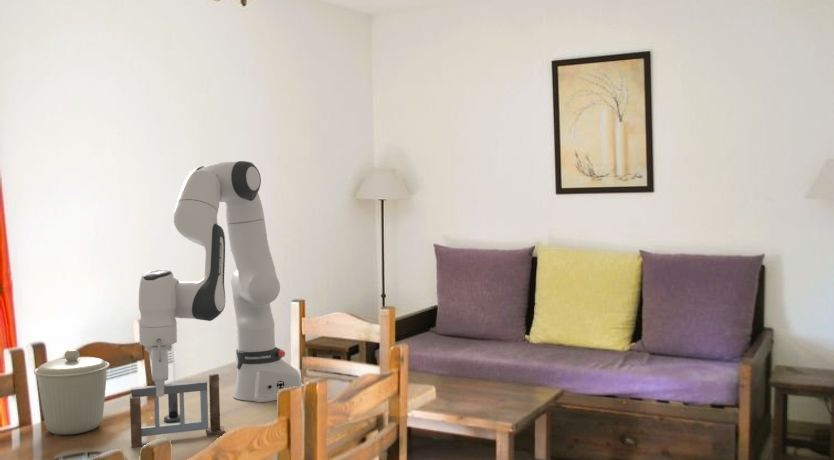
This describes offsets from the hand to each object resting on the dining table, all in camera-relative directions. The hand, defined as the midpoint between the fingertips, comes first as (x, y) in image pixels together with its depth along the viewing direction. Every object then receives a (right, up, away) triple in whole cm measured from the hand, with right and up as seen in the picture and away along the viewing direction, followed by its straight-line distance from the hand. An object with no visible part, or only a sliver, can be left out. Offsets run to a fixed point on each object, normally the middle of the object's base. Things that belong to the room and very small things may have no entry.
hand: (159, 391), depth 196 cm
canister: (-26, -12, +10) cm, 30 cm away
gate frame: (+4, -12, +1) cm, 13 cm away
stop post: (-2, -11, +18) cm, 21 cm away
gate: (+2, -11, +1) cm, 11 cm away
